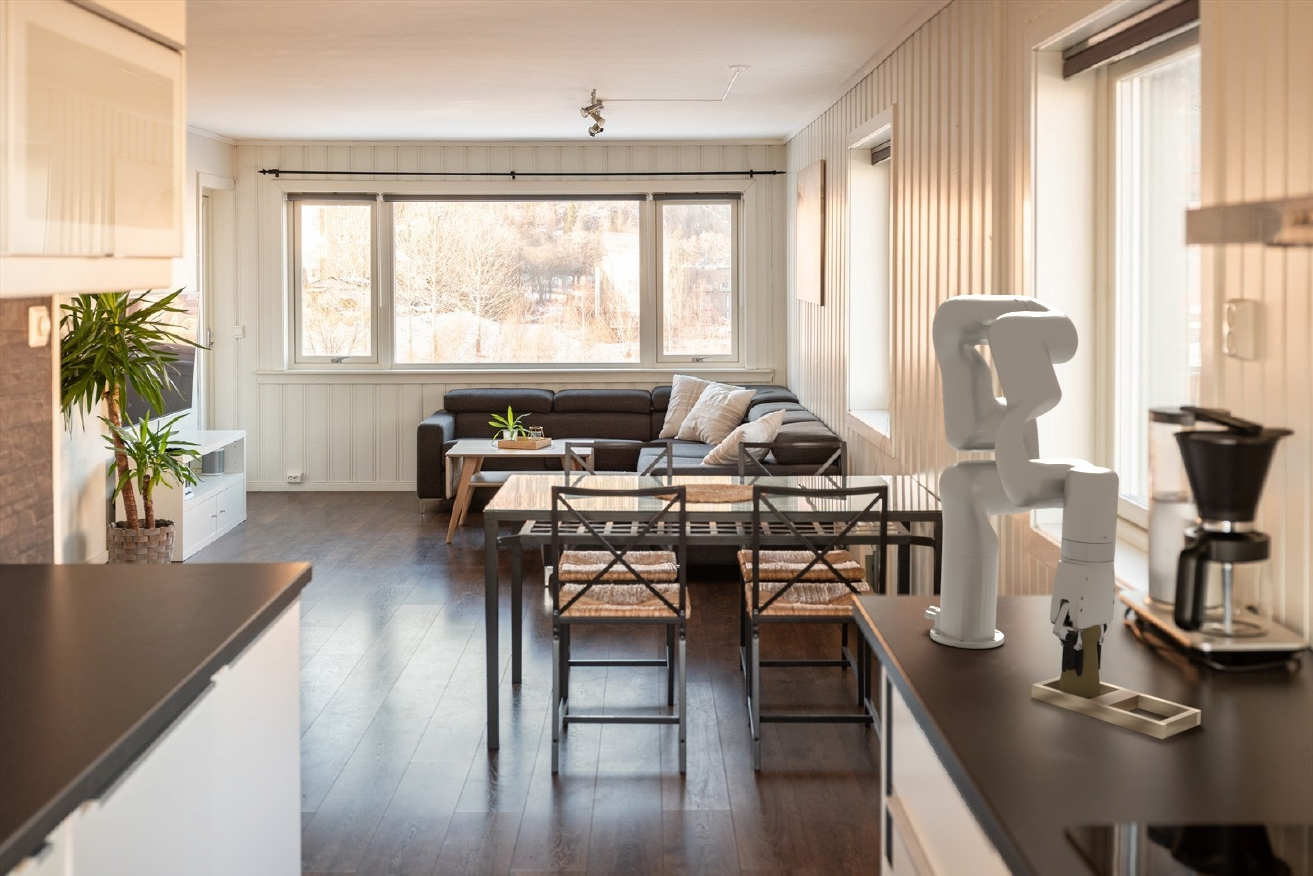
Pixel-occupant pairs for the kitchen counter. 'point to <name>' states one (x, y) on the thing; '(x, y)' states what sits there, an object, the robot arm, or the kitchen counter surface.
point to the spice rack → (1122, 708)
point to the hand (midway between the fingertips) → (1080, 669)
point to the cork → (1084, 667)
